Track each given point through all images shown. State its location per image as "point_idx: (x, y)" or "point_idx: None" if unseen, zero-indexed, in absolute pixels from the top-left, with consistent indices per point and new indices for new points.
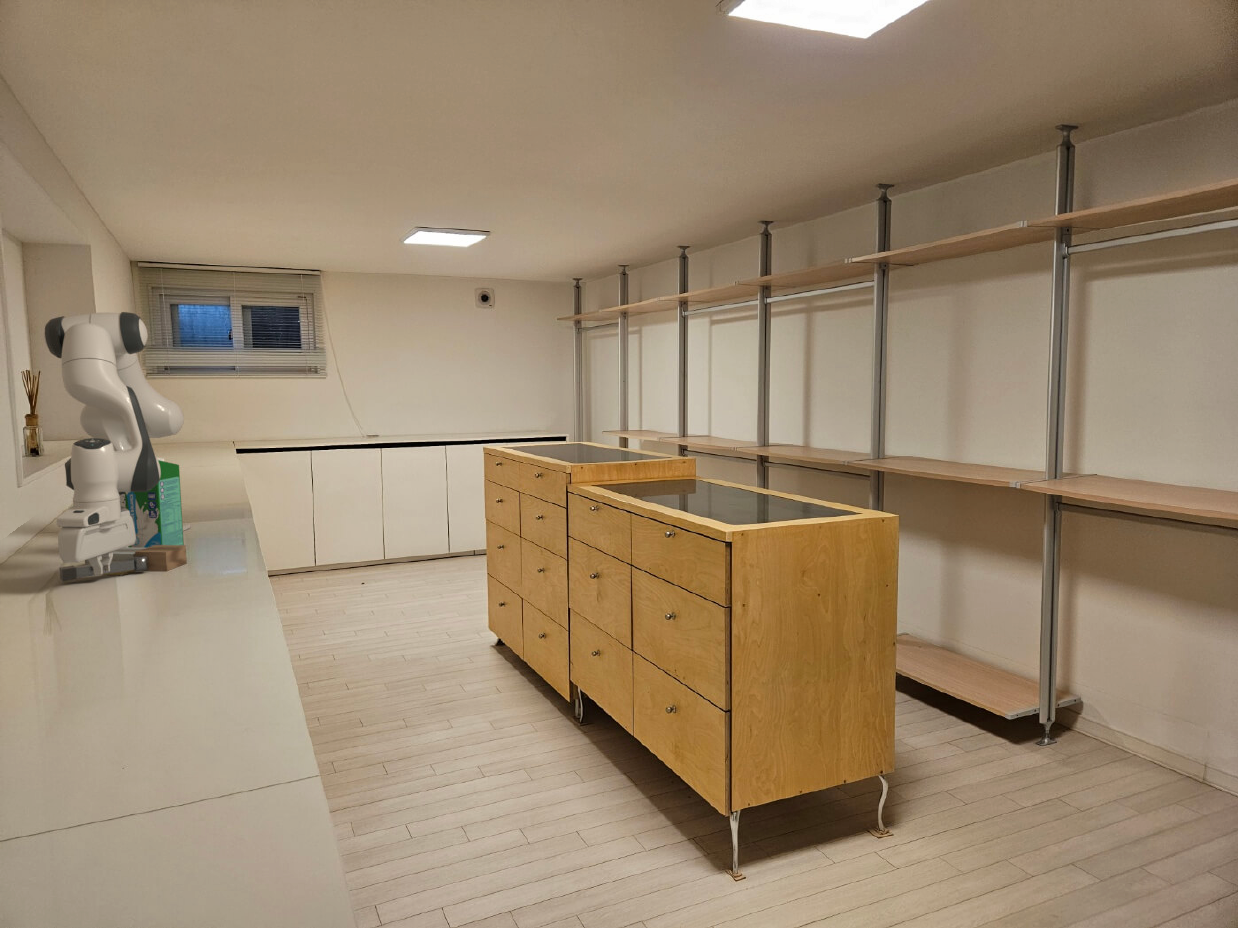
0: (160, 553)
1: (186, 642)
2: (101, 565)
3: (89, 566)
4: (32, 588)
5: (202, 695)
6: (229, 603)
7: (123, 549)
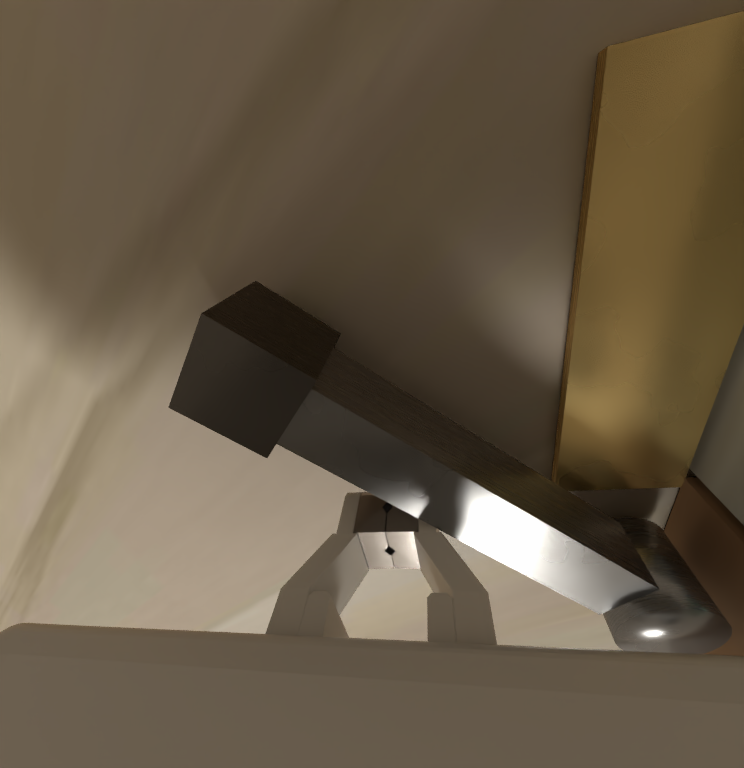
0: None
1: None
2: (354, 580)
3: (364, 487)
4: (85, 185)
5: None
6: None
7: None
